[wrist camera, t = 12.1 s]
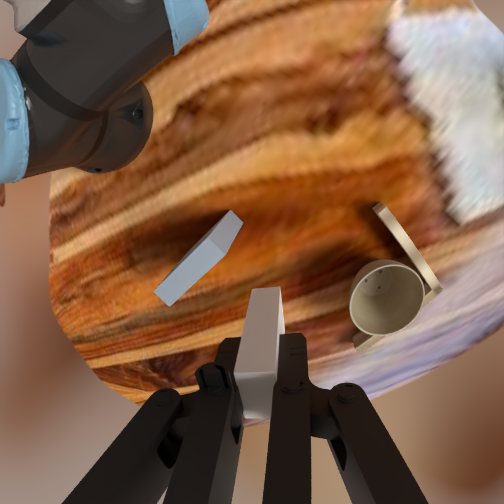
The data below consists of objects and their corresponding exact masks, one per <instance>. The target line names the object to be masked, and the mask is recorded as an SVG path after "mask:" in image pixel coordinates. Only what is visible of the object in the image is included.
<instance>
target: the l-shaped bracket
mask: <svg viewBox="0 0 504 504" xmlns="http://www.w3.org/2000/svg"><path fill="white" fill-rule="evenodd" d="M372 209H373V210H374V212H375V213H376V214H377V216H378V217H379V218H380V219H381V221H382V222H383V223H384V225H385V226H386V227H387V229H388V230H389V231H390V232H391V234H392V235H393V236H394V238H395V239H396V241H397V242H398V243H399V245H400V246H401V247H402V249H403V250H404V251H405V253H406V254H407V256H408V257H409V258H410V260H411V261H412V263H413V264H414V266H415V267H416V268H417V270H418V271H419V273H420V274H421V276H422V277H423V279H424V280H425V281H424V282H423V285H424V290H425V297H424V303H423V306H422V308H423V307H424V306H425V305H426V304H428V303H429V302H430V301H431V300H432V299H434V298H435V297H436V296H437V295H438V294H440V293H441V292H442V291H443V288H442V286H441V285H440V283H439V282H438V280H437V279H436V277H435V275H434V274H433V272H432V271H431V269H430V268H429V266H428V265H427V263H426V262H425V260H424V259H423V257H422V256H421V254H420V253H419V251H418V250H417V248H416V247H415V245H414V244H413V242H412V241H411V240H410V238H409V237H408V235H407V234H406V233H405V231H404V230H403V228H402V227H401V226H400V224H399V223H398V222H397V220H396V219H395V217H394V216H393V215H392V213H391V212H390V211H389V210H388V208H387V207H386V206H385V205H383V204H382V203H381V202H379V203H378V204H377V205H376V206H375V207H373V208H372ZM383 337H385V336H373V335H369V334H367V333H364V332H363V331H360V332H358V333H357V334H356V335H354V336H353V337H352V339H353V343H354V347H355V349H356V350H357V351H358V352H359V353H360V354H361V353H362V352H364V351H365V350H366V349H368V348H369V347H371V346H372V345H374V344H375V343H376V342H378V341H379V340H381V339H382V338H383Z"/></svg>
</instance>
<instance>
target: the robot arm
mask: <svg viewBox="0 0 504 504" xmlns="http://www.w3.org/2000/svg"><path fill="white" fill-rule="evenodd" d="M4 1H6V2H8V3H9V4H11V5H12V6H13V9H14V25H15V31H16V32H18V33H20V34H21V35H23V36H24V37H26V38H28V39H27V40H26V41H25V42H24V44H23V45H22V46H21V47H20V49H19V50H18V51H17V52H16V54H15V55H14V57H13V58H12V59H11V60H9V61H8V60H7V59H2V58H1V59H0V184H2V183H10V182H12V183H15V182H18V181H19V180H21V179H23V178H27V177H31V176H35V175H39V174H43V173H47V172H51V171H55V170H59V169H64V168H68V167H75V168H78V169H81V170H84V171H87V172H91V173H106V172H110V171H115V170H118V169H120V168H123V167H124V166H126V165H128V164H129V163H130V162H132V161H133V160H134V159H135V158H136V157H137V156H138V155H139V153H140V152H141V151H142V149H143V148H144V146H145V144H146V142H147V140H148V138H149V135H150V132H151V128H152V123H153V105H152V100H151V97H150V94H149V92H148V90H147V88H146V87H145V85H144V84H143V83H142V81H141V79H143V78H144V77H145V76H146V75H147V74H149V73H150V72H151V71H152V70H154V69H155V68H156V67H157V66H159V65H160V64H161V63H162V62H164V61H165V60H166V59H168V58H169V57H170V56H172V55H173V56H175V55H177V54H178V53H179V50H180V49H181V48H182V47H183V46H185V45H186V44H187V43H189V42H190V41H191V40H193V39H194V38H195V37H197V36H198V35H199V34H201V33H202V32H203V31H204V30H205V29H206V27H207V25H208V22H209V10H208V7H207V4H206V1H205V0H4ZM195 376H196V379H197V382H198V385H199V388H200V389H199V390H198V391H196V392H193V393H189V394H184V395H180V394H179V393H178V392H177V391H176V390H174V389H170V388H165V389H160V390H158V391H156V392H154V393H153V394H152V395H151V396H150V397H149V398H148V400H147V401H146V402H145V403H144V405H143V406H142V407H141V408H140V410H139V411H138V412H137V413H136V415H135V416H134V417H133V418H132V419H131V421H130V422H129V423H128V424H127V426H126V427H125V428H124V429H123V430H122V432H121V433H120V434H119V435H118V436H117V438H116V439H115V440H114V441H113V443H112V444H111V445H110V447H108V449H107V450H106V451H105V452H104V454H103V455H102V456H101V457H100V458H99V460H98V461H97V462H96V463H95V465H94V466H93V467H92V468H91V469H90V471H89V472H88V473H87V474H86V475H85V477H84V478H83V479H82V480H81V481H80V483H79V484H78V485H77V486H76V487H75V488H74V490H73V491H72V492H71V493H70V494H69V496H68V497H67V498H66V499H65V500H64V502H63V503H62V504H157V502H158V501H159V499H160V498H161V496H162V494H163V493H164V492H165V490H166V488H167V487H168V488H167V492H166V495H165V498H164V501H163V504H231V501H232V496H233V490H234V484H235V478H236V472H237V466H238V460H239V454H240V448H241V442H242V436H243V429H244V427H243V422H242V416H243V412H244V416H245V418H271V420H270V432H269V443H268V453H267V463H266V473H265V482H264V492H263V501H262V504H311V436H313V437H318V438H323V439H327V441H328V444H329V447H330V449H331V452H332V454H333V457H334V459H335V461H336V464H337V467H338V469H339V471H340V474H341V477H342V479H343V481H344V484H345V486H346V489H347V492H348V494H349V496H350V499H351V501H352V504H428V502H427V500H426V498H425V496H424V495H423V493H422V491H421V489H420V487H419V486H418V484H417V482H416V480H415V478H414V477H413V475H412V473H411V471H410V470H409V468H408V466H407V464H406V463H405V461H404V459H403V458H402V455H401V454H400V452H399V450H398V449H397V447H396V445H395V443H394V442H393V440H392V438H391V436H390V435H389V433H388V431H387V430H386V428H385V426H384V424H383V423H382V421H381V419H380V417H379V416H378V414H377V412H376V411H375V409H374V407H373V406H372V404H371V402H370V400H369V399H368V397H367V395H366V394H365V392H364V390H363V389H362V388H361V387H360V386H358V385H356V384H354V383H340V384H338V385H336V386H334V387H333V388H332V389H331V390H328V389H322V388H319V387H317V386H315V385H313V384H312V383H311V381H310V380H309V377H308V361H307V345H306V338H305V337H304V336H303V334H302V333H291V334H285V327H284V318H283V309H282V300H281V291H280V287H271V288H258V289H252V292H251V297H250V301H249V306H248V310H247V315H246V319H245V324H244V328H243V333H242V337H234V338H225V339H224V340H223V341H222V342H221V343H220V345H219V348H218V351H217V354H216V359H215V361H214V362H212V363H207V364H204V365H202V366H201V367H199V368H198V369H197V370H196V372H195Z"/></svg>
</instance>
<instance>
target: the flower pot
mask: <svg viewBox="0 0 504 504" xmlns="http://www.w3.org/2000/svg"><path fill="white" fill-rule="evenodd" d="M379 271H380V272H379ZM365 281H367V282H365ZM379 286H381V287H379ZM424 297H425V290H424V285H423V282H422V280H421V278H420V277H419V275H418V274H417V273H416V272H415V271H414V270H412V269H411V268H410V267H408V266H406V265H404V264H402V263H400V262H397V261H393V260H386V259H382V260H376V261H372V262H370V263H368V264H366V265H365V266H364V267H362V268H361V269H360V271H359V272H358V273H357V275H356V276H355V278H354V280H353V283H352V286H351V289H350V295H349V311H350V316H351V319H352V321H353V322H354V324H355V325H356V326H357V328H359V329H360V330H361V331H363V332H364V333H367V334H369V335H373V336H387V335H392V334H395V333H397V332H399V331H401V330H403V329H404V328H406V327H407V326H408V325H410V324H411V323H412V322H413V321H414V319H415V318H416V317H417V316H418V314H419V312H420V311H421V308H422V306H423V303H424Z"/></svg>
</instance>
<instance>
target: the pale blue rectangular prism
mask: <svg viewBox="0 0 504 504" xmlns="http://www.w3.org/2000/svg"><path fill="white" fill-rule="evenodd" d="M242 224H243V222H242V221H241V220H240V219H239V218H238V217H237V216H236V215H235V214H234V213H233V212H232V211H231V210H230V211H229V212H228V213H227V214H226V215H224V216H223V217H222V218H221V219H220V220H219V221H218V222H217V223H216V224H215V225H214V226H213V227H212V228H211V229H210V230H209V231H208V232H207V233H206V234H205V235H204V236H203V237H202V238H201V239H200V240H199V241H198V242H197V243H196V244H195V245H194V246H193V247H192V248H191V249H190V250H189V251H188V252H187V253H186V254H185V255H184V256H183V258H182V259H181V260H180V261H179V262H178V263H177V265H176V266H175V267H174V268H173V269H172V270H171V272H170V273H169V274H168V275H167V276H166V277H165V279H164V280H163V281H162V282H161V283H160V284H159V286H158V287H157V288H156V289H155V290H154V292H155V293H156V294H157V295H158V296H159V297H160V298H161V299H162V300H163V301H164V302H165V303H166V304H167V305H168V306H169V307H170V306H171V305H172V304H173V303H174V302H175V301H176V300H177V299H178V298H179V297H181V296H182V295H183V294H184V293H185V292H186V291H187V290H188V289H189V288H190V287H191V286H192V285H193V284H195V283H196V282H197V281H198V280H199V279H200V278H201V277H202V276H203V275H204V274H205V273H206V272H207V271H209V270H210V269H211V268H212V267H213V266H214V265H215V264H216V263H217V262H218V261H219V260H220V259H222V258H223V257H224V256H225V255H226V253H227V251H228V249H229V248H230V246H231V244H232V242H233V240H234V239H235V237H236V235H237V233H238V231H239V230H240V228H241V226H242Z"/></svg>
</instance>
